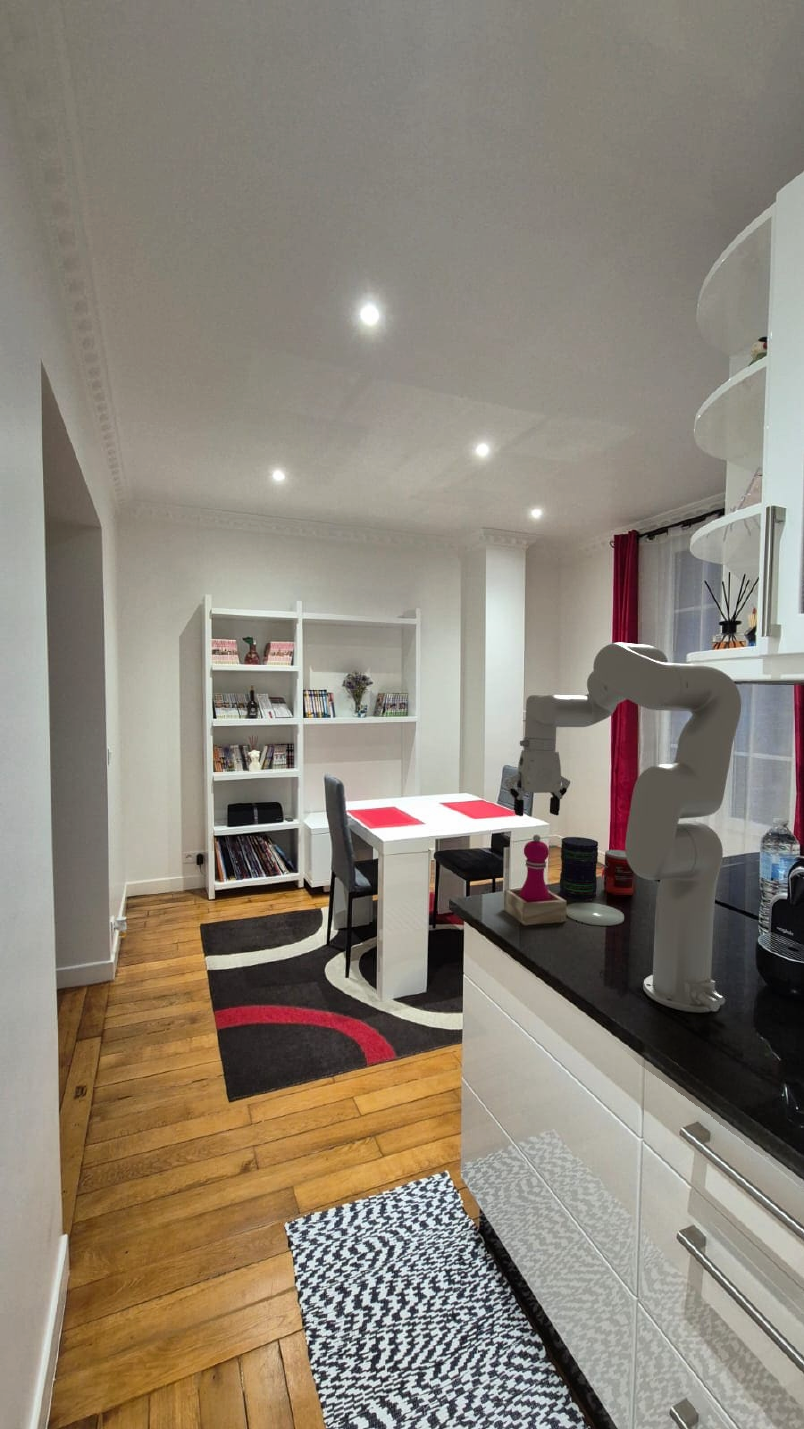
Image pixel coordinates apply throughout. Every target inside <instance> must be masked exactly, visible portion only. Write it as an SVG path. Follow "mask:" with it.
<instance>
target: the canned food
mask: <svg viewBox="0 0 804 1429" xmlns="http://www.w3.org/2000/svg"><path fill="white" fill-rule="evenodd" d="M603 867H604V868H603V869H604V874H603V890H604V891H605V893H607V892H608V893H607V894H609V893H611V894H610V895H612V894H613V896H616V895H630V896H632V895H633V893H634V877H635V873H634V871H633V870H632V869H631V867H630V866H629V864H628V861H627V858H626V851H625V850H620V849H609V850H606V851H605V852H604V866H603Z"/></svg>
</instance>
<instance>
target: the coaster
mask: <svg viewBox="0 0 804 1429" xmlns="http://www.w3.org/2000/svg"><path fill="white" fill-rule="evenodd" d="M566 917H568V918H569V919H572V920H574V921H576V920H577V921H576V922H579V923H582V922H583V924H587V925H591V926H603V927H604V926H605V927H606V926H607V927H608V926H616V925H617V926H618V925H620V924H622V923H623V922H624V921H625V915H624V913H623V912H621V910H619V909H617V908H614V907H613V906H609V905H605V904H600V903H595V902H574V903H573V902H572V903H570V904H566Z"/></svg>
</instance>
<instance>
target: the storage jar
mask: <svg viewBox="0 0 804 1429" xmlns="http://www.w3.org/2000/svg"><path fill="white" fill-rule="evenodd" d="M598 847H599V842H598V841H597V840H595V839H592V838H588V837H580V836H567V837H566V836H565V837H562V838H561V846H560V860H561V869H560V874H559V875H560V876H559V877H560V878H559V889H560V890H559V896H561V895H562V896H561V897H563V896H564V897H563V898H565V897H566V898H565V899H568V898H569V899H568V900H572V899H574V900H573V901H579V900H590V901H592V900H591V899H594V898H595V899H596V898H597V894H596V893H597V888H598V881H597V880H598V877H597V864H598V859H599V858H598V857H599V851H598V850H599V848H598ZM595 899H594V900H595Z"/></svg>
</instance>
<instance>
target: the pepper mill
mask: <svg viewBox="0 0 804 1429" xmlns="http://www.w3.org/2000/svg"><path fill="white" fill-rule="evenodd" d="M532 839H533V840H529V841H528V842H527V843H526V844H525V845H524V848H523V854H524V857H526V859H525V867H526V868H527V872H526V874H527V875H526V878H525V881H524V884H523V885H522V887H521V888H520V889H521V892H520V898H521V899H523V900H524V901H526V902H540V901H550V896H549V892H548V890H549V889H548V887H547V885H546V881H545V877H544V876H545V875H544V874H545V869H546V868H547V861H546V860H547V859H548V857H549V854H550V853H549V852H550V851H549V850H550V849H549V847H548V845H547V844H546V843H545V842H543V841H541V836H540V835H539V834H535V835H534V834H533V837H532Z"/></svg>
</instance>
